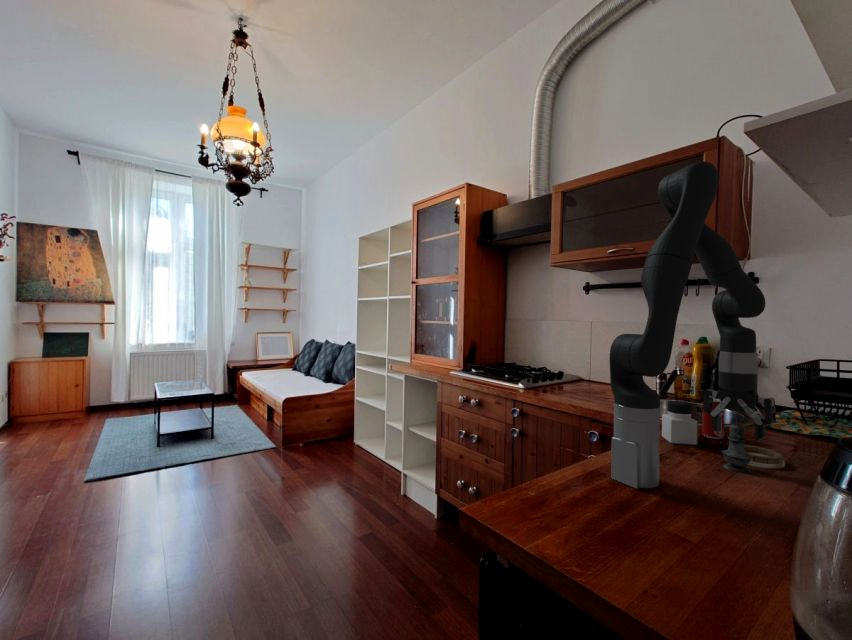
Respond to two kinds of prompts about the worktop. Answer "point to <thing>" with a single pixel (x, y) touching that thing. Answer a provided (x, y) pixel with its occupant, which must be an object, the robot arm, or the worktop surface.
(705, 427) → the soda can
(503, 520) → the worktop surface
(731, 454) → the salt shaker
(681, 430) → the medicine bottle
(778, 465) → the seat
